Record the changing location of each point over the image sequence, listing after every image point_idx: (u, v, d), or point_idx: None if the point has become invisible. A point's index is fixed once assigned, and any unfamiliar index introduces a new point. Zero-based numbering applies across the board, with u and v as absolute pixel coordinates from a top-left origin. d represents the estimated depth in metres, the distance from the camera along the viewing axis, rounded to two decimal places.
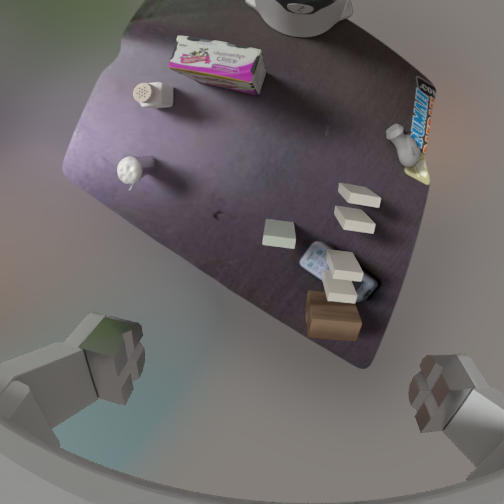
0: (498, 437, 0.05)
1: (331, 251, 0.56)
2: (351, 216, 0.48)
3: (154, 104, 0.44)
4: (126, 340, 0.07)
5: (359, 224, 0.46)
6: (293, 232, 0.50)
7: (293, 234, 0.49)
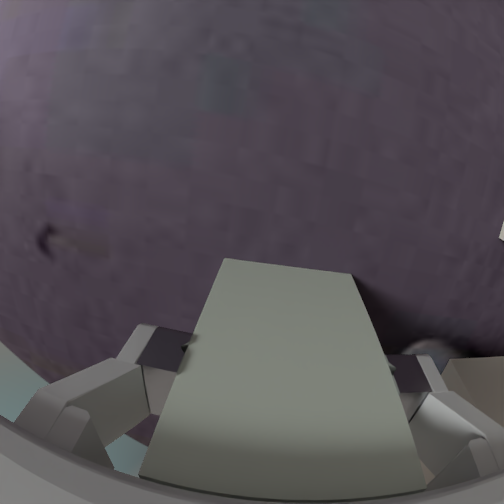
0: (458, 447, 0.05)
1: (465, 370, 0.12)
2: None
3: None
4: (182, 352, 0.07)
5: None
6: (383, 379, 0.06)
7: (391, 411, 0.06)
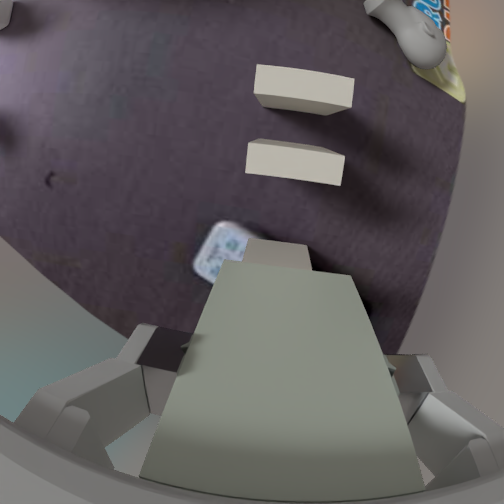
0: (458, 447, 0.05)
1: (255, 242, 0.26)
2: None
3: None
4: (182, 352, 0.07)
5: (295, 155, 0.15)
6: (382, 381, 0.06)
7: (390, 412, 0.06)
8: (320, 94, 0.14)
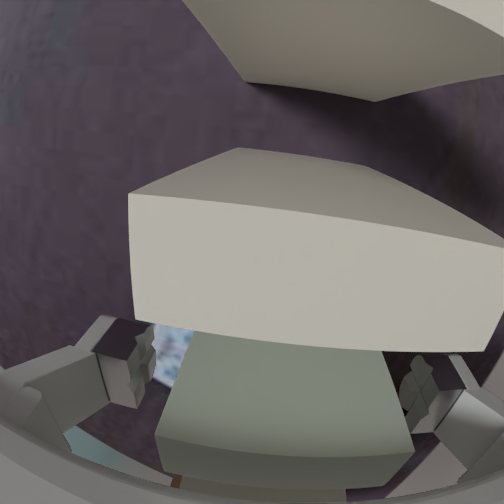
0: (490, 439, 0.05)
1: None
2: (275, 174, 0.05)
3: None
4: (138, 343, 0.07)
5: (353, 255, 0.03)
6: (374, 356, 0.07)
7: (381, 383, 0.06)
8: None
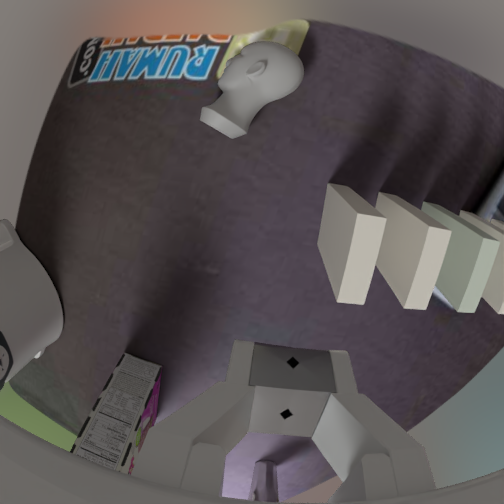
0: None
1: None
2: (397, 266, 0.18)
3: None
4: (284, 367, 0.07)
5: (422, 271, 0.15)
6: (457, 226, 0.17)
7: (465, 231, 0.16)
8: (372, 248, 0.15)
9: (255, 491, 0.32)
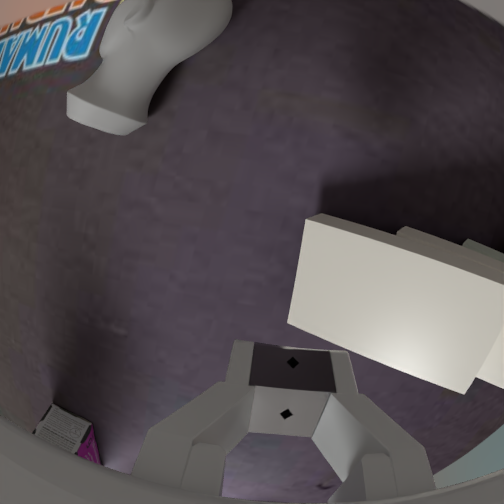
0: None
1: None
2: (496, 353, 0.10)
3: None
4: (284, 367, 0.07)
5: None
6: None
7: None
8: None
9: None
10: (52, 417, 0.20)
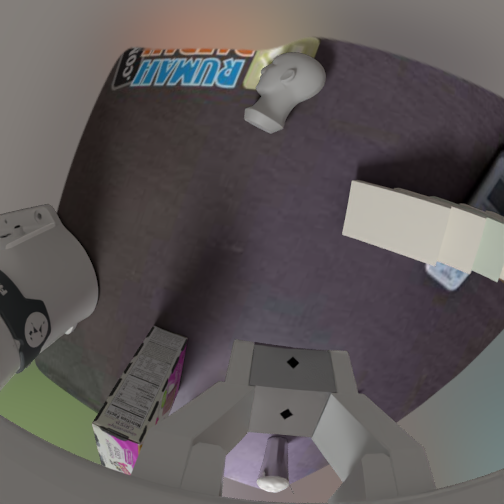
0: None
1: None
2: (450, 248, 0.23)
3: None
4: (284, 367, 0.07)
5: (478, 247, 0.21)
6: None
7: (494, 224, 0.20)
8: None
9: (266, 464, 0.36)
10: (156, 334, 0.34)
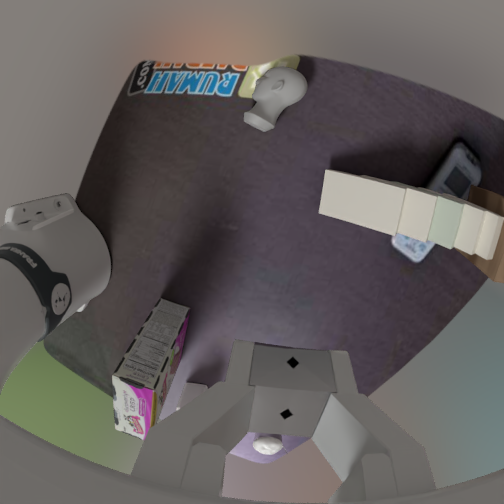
0: None
1: None
2: (408, 221, 0.30)
3: None
4: (284, 367, 0.07)
5: (431, 220, 0.28)
6: None
7: (444, 201, 0.28)
8: (403, 203, 0.30)
9: None
10: (162, 304, 0.41)
